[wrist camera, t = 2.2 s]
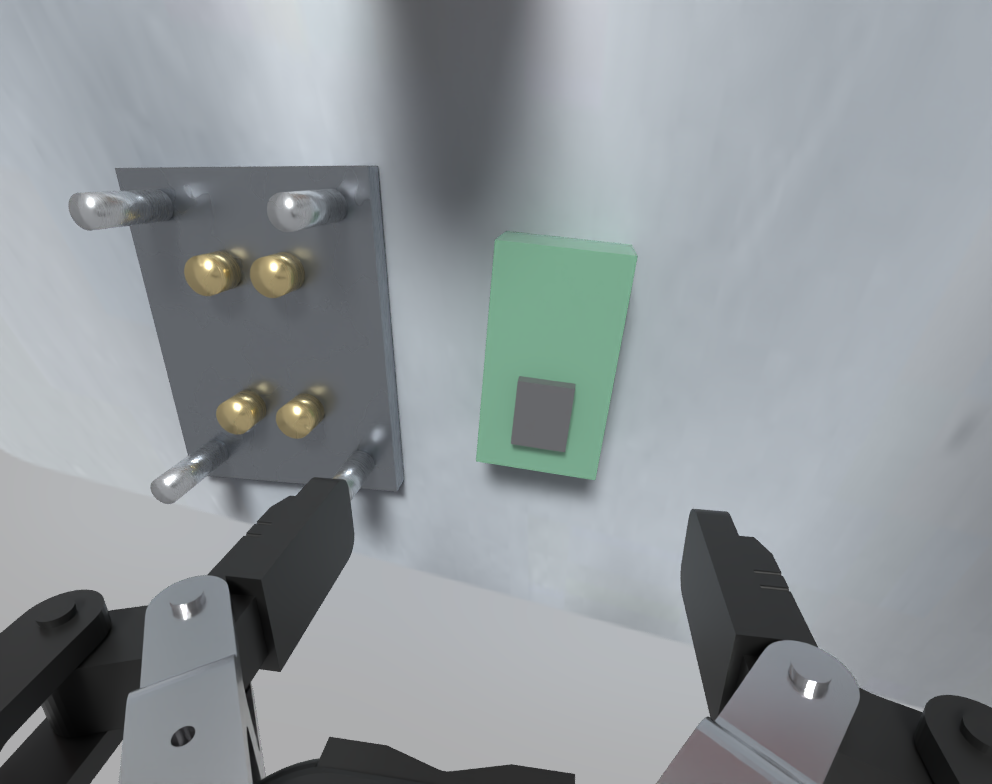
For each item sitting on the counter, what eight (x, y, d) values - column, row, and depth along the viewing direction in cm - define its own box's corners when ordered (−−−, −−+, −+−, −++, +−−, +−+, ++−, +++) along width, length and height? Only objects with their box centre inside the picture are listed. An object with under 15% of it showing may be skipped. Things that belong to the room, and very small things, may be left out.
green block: (507, 230, 24) (492, 241, 21) (630, 244, 24) (638, 258, 20) (488, 428, 28) (473, 467, 24) (594, 444, 28) (595, 487, 24)
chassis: (135, 168, 26) (31, 168, 21) (377, 165, 24) (325, 165, 19) (206, 464, 32) (139, 516, 27) (404, 479, 30) (369, 538, 25)
